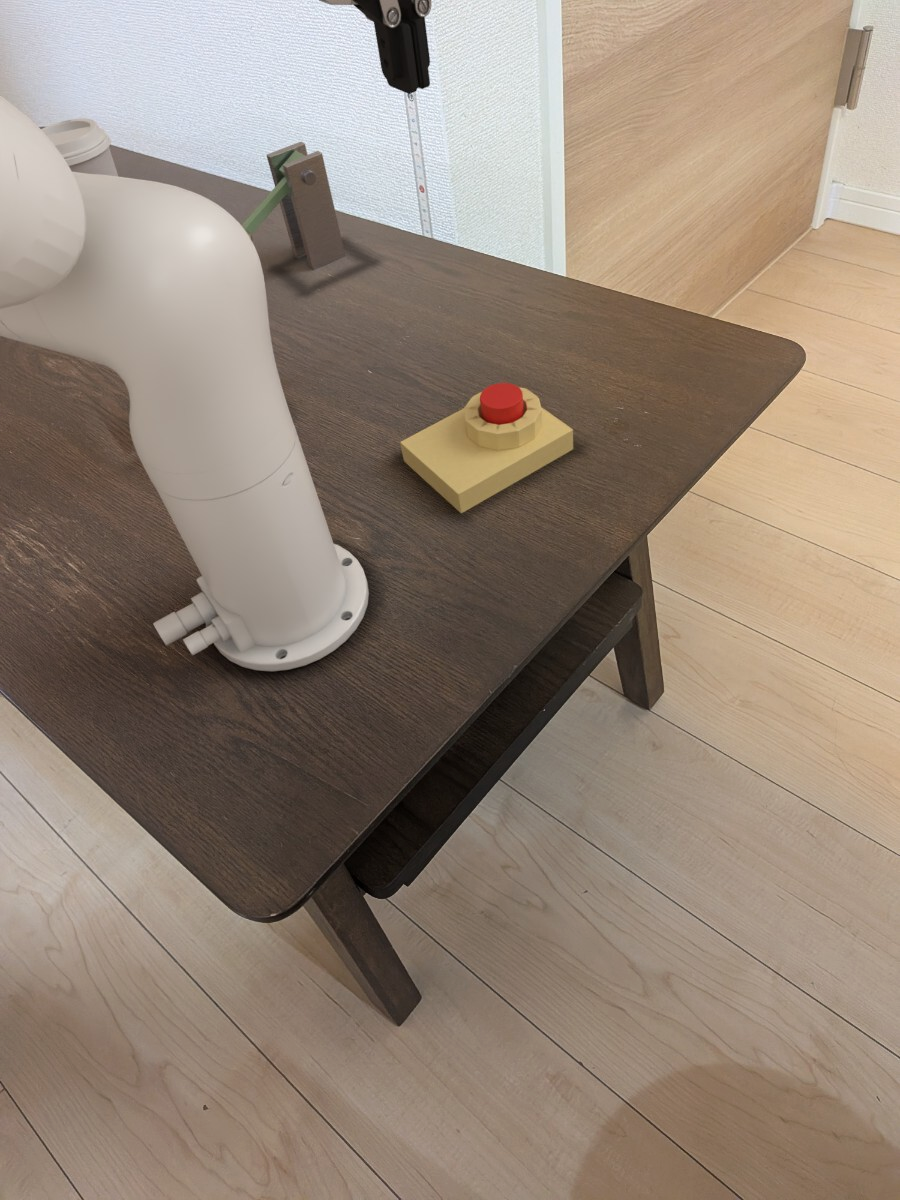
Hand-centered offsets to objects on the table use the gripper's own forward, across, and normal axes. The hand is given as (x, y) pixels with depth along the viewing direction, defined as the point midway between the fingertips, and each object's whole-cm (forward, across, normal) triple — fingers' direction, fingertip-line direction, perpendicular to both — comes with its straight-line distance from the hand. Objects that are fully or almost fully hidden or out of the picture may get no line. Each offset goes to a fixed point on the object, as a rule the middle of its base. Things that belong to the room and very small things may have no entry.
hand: (408, 85), depth 57 cm
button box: (+27, +2, +8) cm, 28 cm away
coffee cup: (+27, +14, -58) cm, 66 cm away
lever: (+20, 0, -34) cm, 39 cm away
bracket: (+27, -4, -34) cm, 44 cm away
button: (+24, 0, +8) cm, 25 cm away
